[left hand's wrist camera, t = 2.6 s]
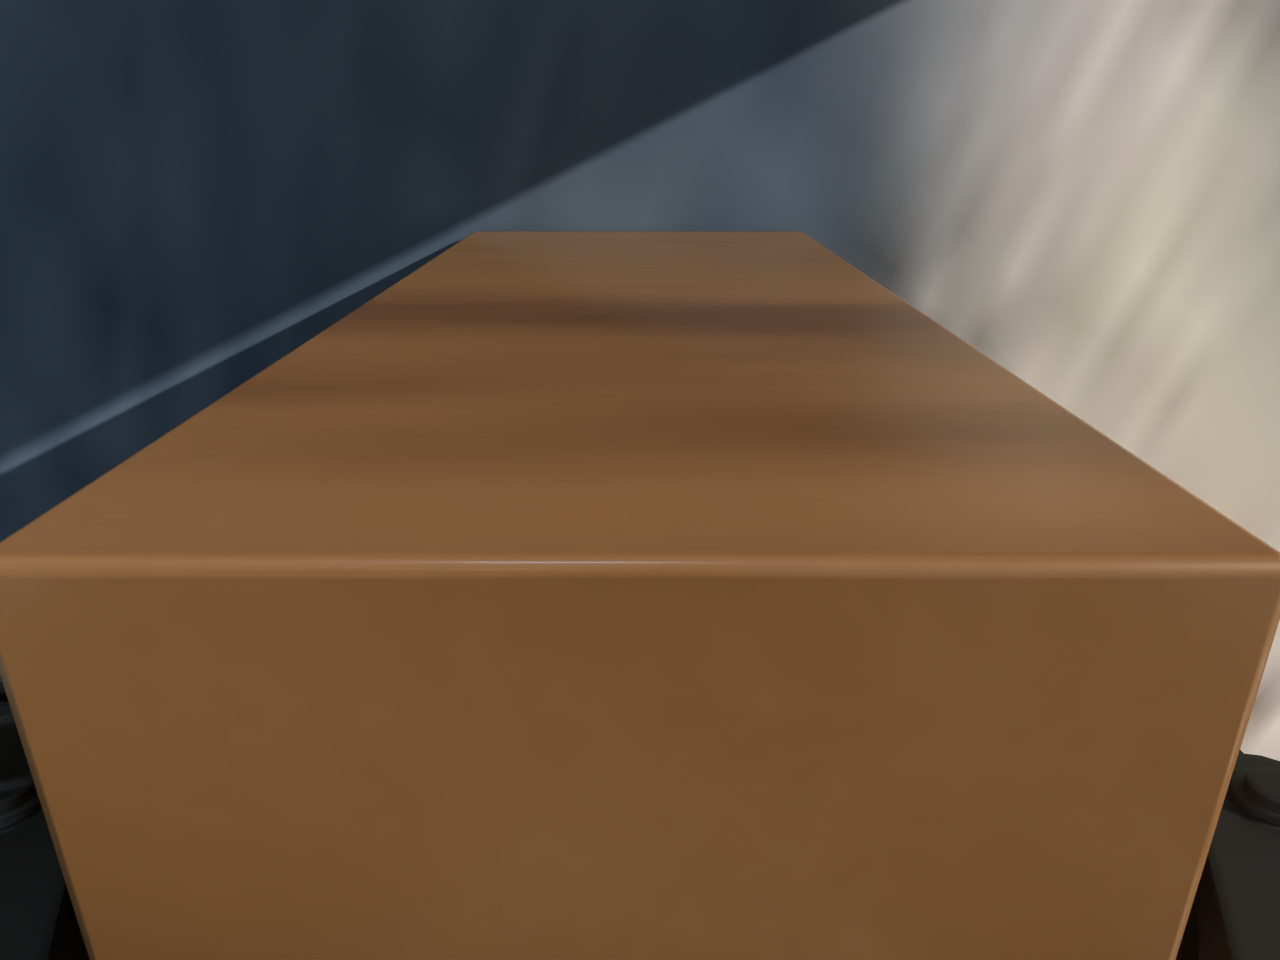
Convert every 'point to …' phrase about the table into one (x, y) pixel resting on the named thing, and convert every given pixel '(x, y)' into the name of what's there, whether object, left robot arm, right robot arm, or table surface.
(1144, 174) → the table surface
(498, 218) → the table surface
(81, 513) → the box
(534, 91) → the table surface
